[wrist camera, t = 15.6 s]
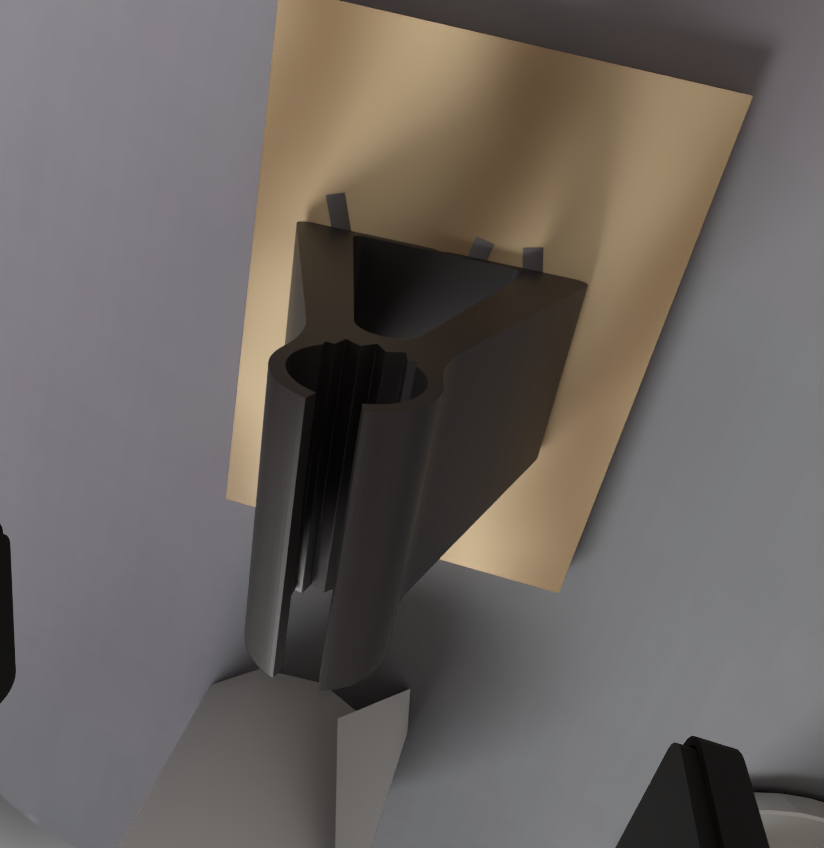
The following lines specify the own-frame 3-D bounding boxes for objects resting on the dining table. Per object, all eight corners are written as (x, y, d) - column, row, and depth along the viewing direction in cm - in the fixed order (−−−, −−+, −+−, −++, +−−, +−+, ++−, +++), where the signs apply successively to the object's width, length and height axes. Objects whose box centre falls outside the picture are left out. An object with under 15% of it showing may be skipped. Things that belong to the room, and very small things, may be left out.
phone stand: (588, 282, 21) (630, 475, 10) (537, 454, 24) (527, 750, 13) (301, 217, 22) (60, 336, 11) (282, 392, 24) (74, 623, 14)
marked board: (741, 95, 19) (753, 95, 18) (558, 573, 27) (558, 593, 26) (293, -8, 20) (279, -14, 19) (238, 483, 28) (225, 498, 27)
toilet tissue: (448, 674, 30) (413, 871, 22) (334, 836, 36) (276, 1035, 28) (259, 581, 30) (158, 748, 22) (175, 760, 36) (74, 940, 28)
